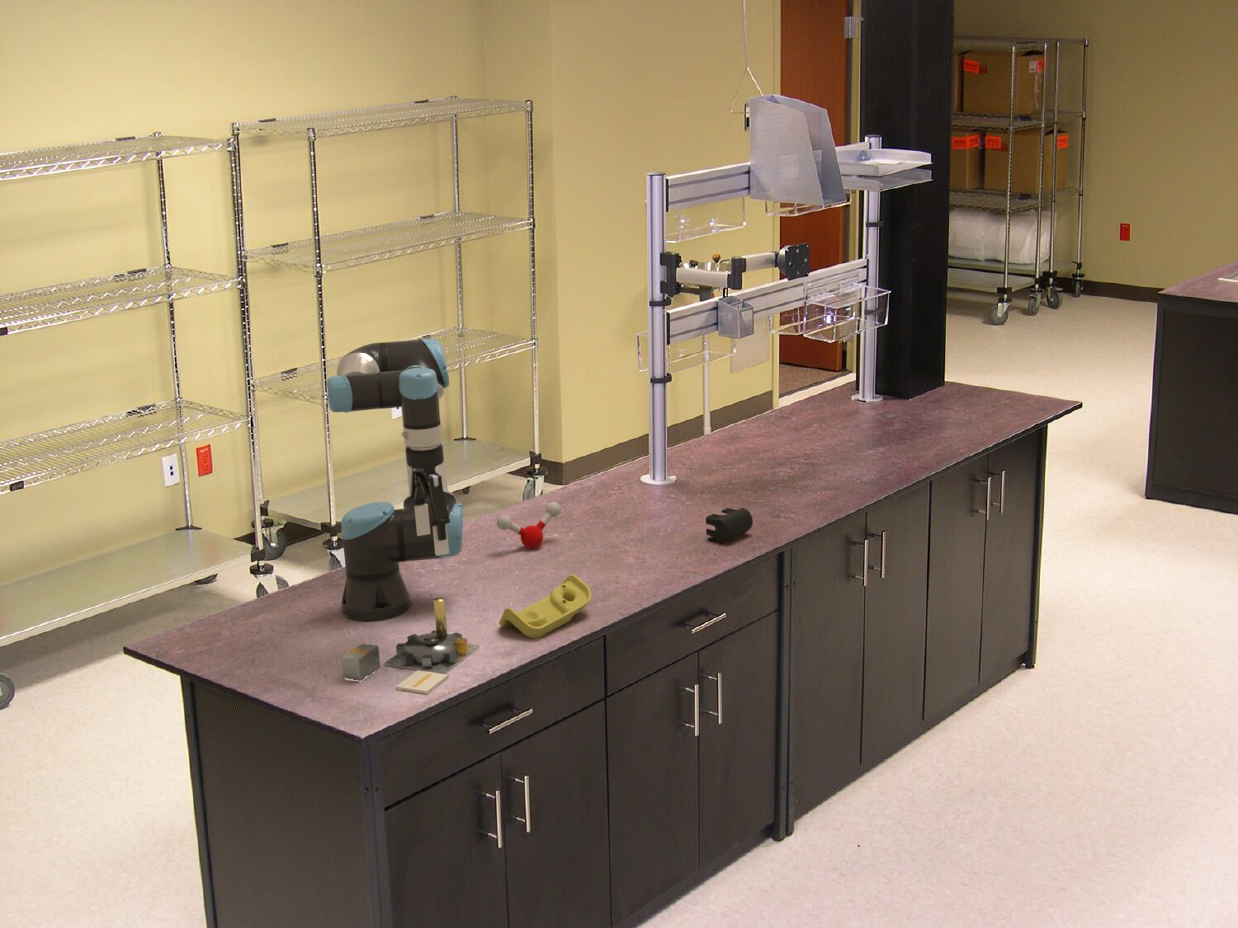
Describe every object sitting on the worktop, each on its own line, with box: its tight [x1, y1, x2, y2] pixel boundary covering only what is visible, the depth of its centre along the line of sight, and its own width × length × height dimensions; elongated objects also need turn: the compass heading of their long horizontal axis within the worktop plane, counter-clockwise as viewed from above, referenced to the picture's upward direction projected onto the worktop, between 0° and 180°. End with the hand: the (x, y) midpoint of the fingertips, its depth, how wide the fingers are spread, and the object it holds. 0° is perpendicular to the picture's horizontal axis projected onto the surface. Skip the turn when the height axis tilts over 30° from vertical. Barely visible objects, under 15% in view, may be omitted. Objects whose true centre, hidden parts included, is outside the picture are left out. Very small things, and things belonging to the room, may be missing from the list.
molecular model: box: [496, 501, 562, 549], centre depth 360 cm, size 18×6×10 cm, turn 131°
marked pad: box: [395, 670, 449, 695], centre depth 288 cm, size 7×8×1 cm
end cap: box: [705, 507, 754, 545], centre depth 360 cm, size 10×7×7 cm
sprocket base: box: [384, 643, 480, 674], centre depth 301 cm, size 14×14×1 cm
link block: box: [341, 643, 381, 681], centre depth 293 cm, size 4×7×5 cm, turn 155°
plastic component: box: [498, 574, 592, 639], centre depth 316 cm, size 20×7×10 cm
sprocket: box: [395, 597, 469, 667], centre depth 299 cm, size 14×14×10 cm
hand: (432, 544), depth 304 cm, fingers open, 13 cm apart
